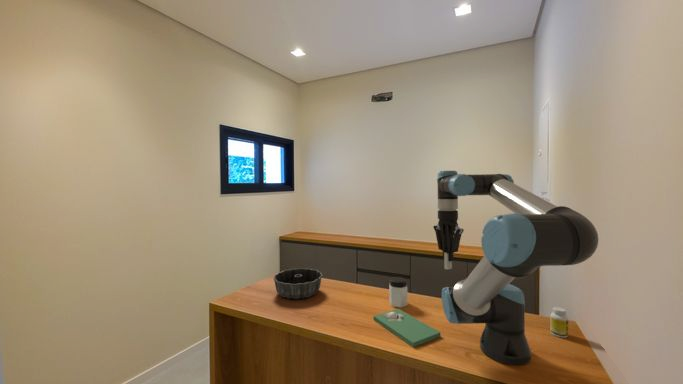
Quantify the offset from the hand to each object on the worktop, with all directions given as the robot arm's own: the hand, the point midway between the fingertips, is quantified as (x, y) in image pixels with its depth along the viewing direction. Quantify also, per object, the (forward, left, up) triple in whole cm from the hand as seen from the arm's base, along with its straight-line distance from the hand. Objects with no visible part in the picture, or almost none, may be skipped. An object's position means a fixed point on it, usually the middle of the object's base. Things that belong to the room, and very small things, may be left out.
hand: (448, 268), depth 111 cm
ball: (+17, +14, -23) cm, 32 cm away
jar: (+29, +1, -25) cm, 38 cm away
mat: (+10, +14, -24) cm, 30 cm away
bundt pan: (+68, +38, -25) cm, 82 cm away
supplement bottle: (-24, -33, -25) cm, 48 cm away
